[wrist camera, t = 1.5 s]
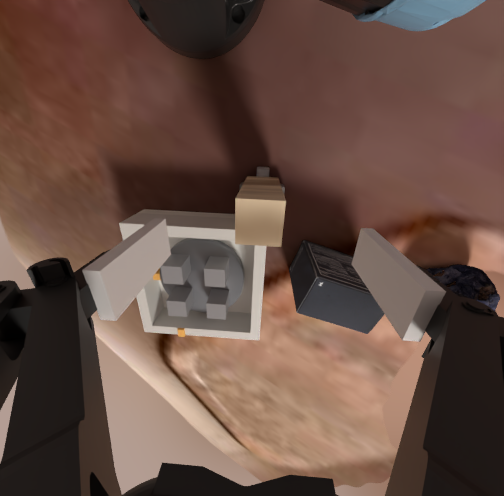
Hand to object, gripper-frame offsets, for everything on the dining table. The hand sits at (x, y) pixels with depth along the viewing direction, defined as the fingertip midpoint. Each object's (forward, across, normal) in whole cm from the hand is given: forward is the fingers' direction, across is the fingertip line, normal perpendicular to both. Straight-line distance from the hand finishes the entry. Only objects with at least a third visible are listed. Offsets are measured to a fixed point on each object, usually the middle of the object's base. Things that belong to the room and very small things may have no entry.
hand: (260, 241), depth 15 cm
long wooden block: (+18, 0, 0) cm, 19 cm away
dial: (+16, -9, -14) cm, 23 cm away
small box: (+19, +11, -12) cm, 25 cm away
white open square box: (+18, -9, -14) cm, 24 cm away
